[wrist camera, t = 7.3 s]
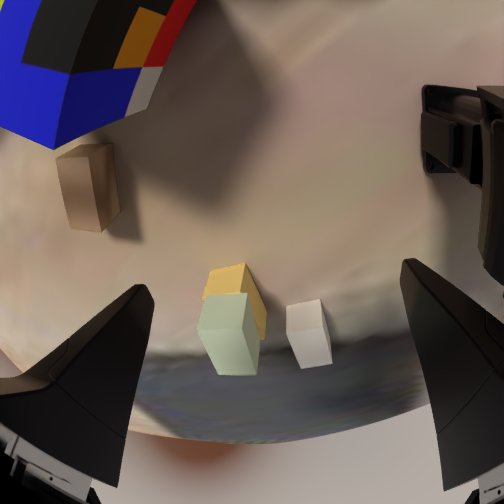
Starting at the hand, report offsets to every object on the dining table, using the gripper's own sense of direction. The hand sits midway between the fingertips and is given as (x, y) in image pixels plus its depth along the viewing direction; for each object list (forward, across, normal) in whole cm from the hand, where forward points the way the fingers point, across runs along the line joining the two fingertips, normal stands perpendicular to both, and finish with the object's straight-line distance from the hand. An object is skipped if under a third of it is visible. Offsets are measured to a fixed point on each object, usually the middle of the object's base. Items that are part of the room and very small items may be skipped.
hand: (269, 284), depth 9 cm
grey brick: (+12, -1, +16) cm, 20 cm away
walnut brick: (+12, +14, -2) cm, 19 cm away
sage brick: (+9, +5, +11) cm, 15 cm away
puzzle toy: (+12, +9, -13) cm, 20 cm away
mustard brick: (+12, +5, +11) cm, 17 cm away
